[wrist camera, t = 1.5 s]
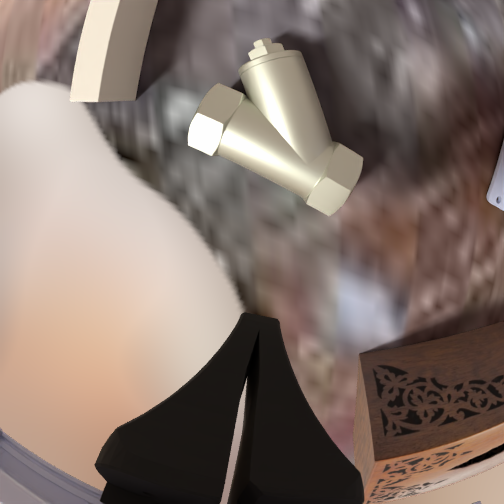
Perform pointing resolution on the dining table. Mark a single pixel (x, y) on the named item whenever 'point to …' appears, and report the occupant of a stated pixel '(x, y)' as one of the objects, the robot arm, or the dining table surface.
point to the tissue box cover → (429, 414)
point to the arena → (112, 50)
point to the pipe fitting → (277, 129)
